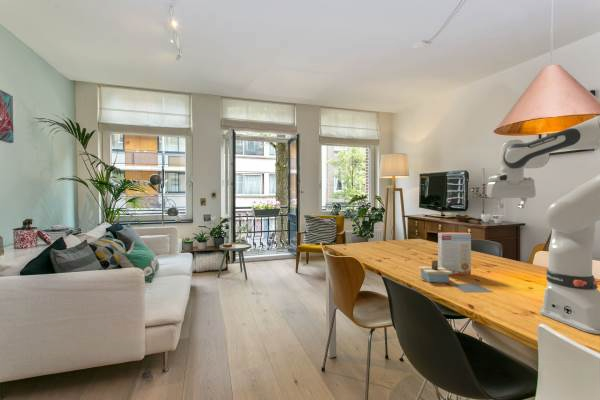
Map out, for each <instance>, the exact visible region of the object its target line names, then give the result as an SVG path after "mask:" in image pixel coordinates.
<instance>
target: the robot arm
mask: <svg viewBox="0 0 600 400" xmlns="http://www.w3.org/2000/svg"><path fill="white" fill-rule="evenodd" d="M595 149H600V115H597V116H595V117H592V118H590V119H588V120H585V121H583V122H581V123H578V124H576V125H573V126H571V127H568V128H566V129H563V130H561V131H558V132H555V133H551V134H549V135H546V136H544V137H540V138H538V139H536V140H535V139H534V140H533V141H529V142H524V141H523V140H521V139H513V140H512V139H511V140H509V141H505V142H504V143H502V145H501V148H500V153H499V163H500V168H499V173H498V174H494V175H490V176H489V177H488V178H487V180H488V183H487V186H486V196H487V198H489V199H494V201H495V203H496V204H497V209H504V203H502V202H501V201H502V199H509V198H510V199H512V198H513V199H517V198H518V199H519V198H520V203H518V204H517V208H518V209H524V208H525V204H526V203H527V201H528V199H534V198H535V197H536V195H537V194H536V193H537V192H536V186H535V180H534V178H532V177H524V172H525V171H524V169H539V168H542V167H544V166H546V165H547V164H548V162H549V161H550V154H552V153H554V152H558V151H563V150H595ZM545 220H546V222H547V224H548V225H549V226H550V227H551V228H552V229H551V234H550V235H551V236H550V241H549V245H548V267H547V269H546V273H545V276H546V277H545V278H546V279H545V280H546V281H547V283H546V284H547V285H546V286H545V287H546V288H545V289H544V294H543V300H542V305H541V309H540V310H539V314H540V315H542V316H545V317H548V318H549V319H552V320H555V321H557V322H560V323H563V324H565V325H567V326H570V327H573V328H574V329H578V330H579V331H583V332H585V333H589V334H593V335H594V334H596V335H600V290H599V289H598V287H599V286H598V285H600V280H596V278H595V276H594V275H593V257H594V256H593V251H594V243H595V234H596V233H595V232H596V222H598V221H600V173H599V174H597V175H596V176H594V177H593V178H591V179H590V180H588V181H586V182H584V183H583V184H581V185H580V186H578V187H576V188H575V189H572V190H571V191H569V192H568V193H566V194H565V195H563V196H562V197H560V198H558V199H557V200H555V201H553V203H551V204H550V205H549V206H548V208H547V209H546V212H545Z"/></svg>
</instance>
